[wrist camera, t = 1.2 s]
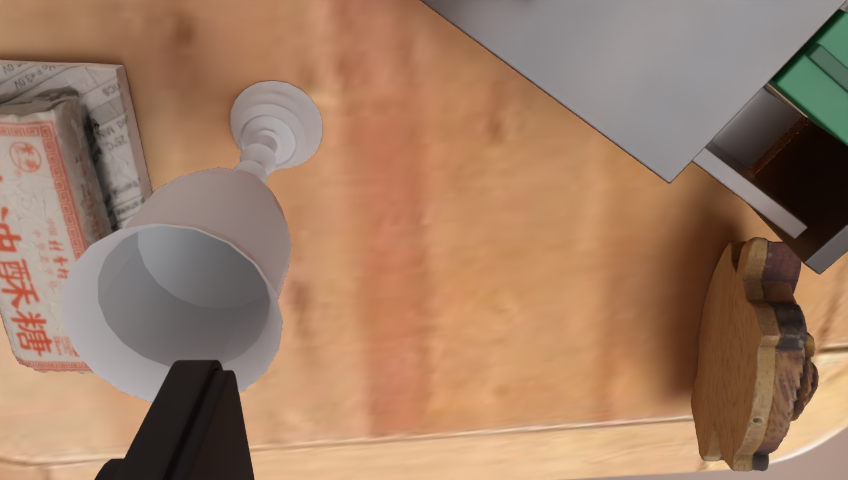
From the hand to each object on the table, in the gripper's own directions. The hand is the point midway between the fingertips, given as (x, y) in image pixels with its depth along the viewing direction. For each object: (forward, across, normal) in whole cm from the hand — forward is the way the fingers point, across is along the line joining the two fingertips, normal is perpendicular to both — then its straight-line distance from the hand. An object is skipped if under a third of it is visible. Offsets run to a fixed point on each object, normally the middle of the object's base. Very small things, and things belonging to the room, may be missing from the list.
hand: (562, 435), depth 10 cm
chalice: (+29, +10, +5) cm, 31 cm away
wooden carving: (+29, -17, +18) cm, 38 cm away
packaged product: (+29, +22, +10) cm, 38 cm away
